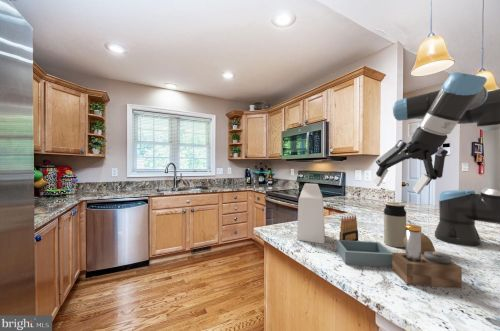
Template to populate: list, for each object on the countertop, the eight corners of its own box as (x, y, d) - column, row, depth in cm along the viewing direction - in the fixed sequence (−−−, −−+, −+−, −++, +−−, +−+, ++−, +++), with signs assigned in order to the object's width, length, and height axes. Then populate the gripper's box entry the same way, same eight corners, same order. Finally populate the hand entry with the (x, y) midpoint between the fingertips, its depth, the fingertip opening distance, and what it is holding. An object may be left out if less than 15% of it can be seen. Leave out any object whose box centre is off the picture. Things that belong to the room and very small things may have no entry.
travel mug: (382, 244, 91) (382, 203, 91) (386, 240, 97) (385, 201, 97) (404, 249, 86) (404, 206, 86) (407, 244, 91) (407, 203, 92)
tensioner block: (440, 273, 66) (440, 248, 66) (461, 288, 58) (461, 259, 58) (392, 270, 68) (392, 246, 69) (406, 284, 61) (406, 256, 61)
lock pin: (416, 275, 66) (416, 224, 66) (424, 281, 62) (424, 228, 62) (403, 274, 66) (402, 224, 66) (410, 280, 62) (410, 227, 62)
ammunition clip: (342, 245, 91) (342, 217, 91) (339, 243, 92) (339, 216, 92) (358, 240, 96) (358, 214, 96) (354, 239, 97) (354, 214, 98)
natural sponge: (401, 251, 83) (401, 227, 83) (430, 256, 79) (430, 230, 79) (404, 260, 76) (404, 233, 76) (437, 266, 71) (437, 237, 71)
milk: (296, 239, 97) (296, 184, 98) (300, 232, 108) (300, 182, 108) (323, 243, 93) (323, 185, 93) (325, 235, 104) (324, 183, 104)
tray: (378, 252, 83) (378, 242, 83) (395, 267, 71) (395, 254, 71) (336, 250, 85) (336, 239, 85) (345, 264, 73) (345, 251, 73)
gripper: (396, 127, 58) (363, 187, 69) (487, 143, 57) (439, 201, 68) (385, 118, 64) (356, 174, 75) (466, 133, 64) (425, 188, 75)
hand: (395, 187), depth 72 cm, fingers open, 13 cm apart
